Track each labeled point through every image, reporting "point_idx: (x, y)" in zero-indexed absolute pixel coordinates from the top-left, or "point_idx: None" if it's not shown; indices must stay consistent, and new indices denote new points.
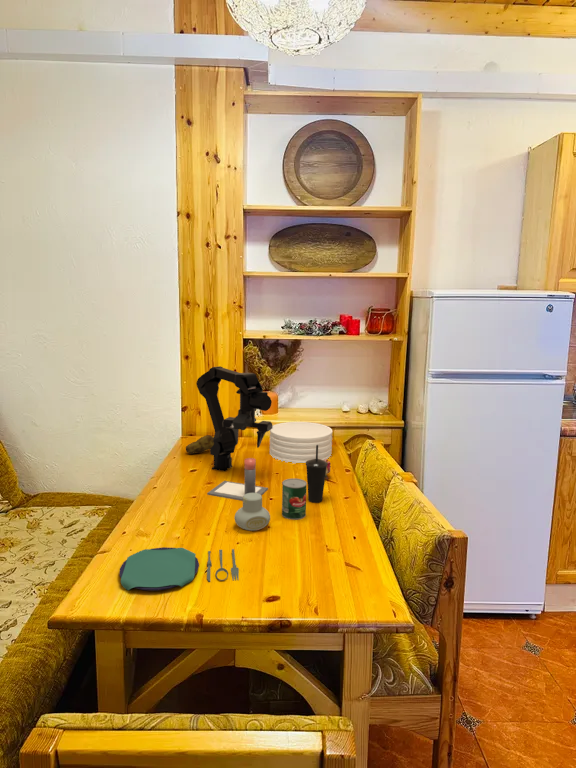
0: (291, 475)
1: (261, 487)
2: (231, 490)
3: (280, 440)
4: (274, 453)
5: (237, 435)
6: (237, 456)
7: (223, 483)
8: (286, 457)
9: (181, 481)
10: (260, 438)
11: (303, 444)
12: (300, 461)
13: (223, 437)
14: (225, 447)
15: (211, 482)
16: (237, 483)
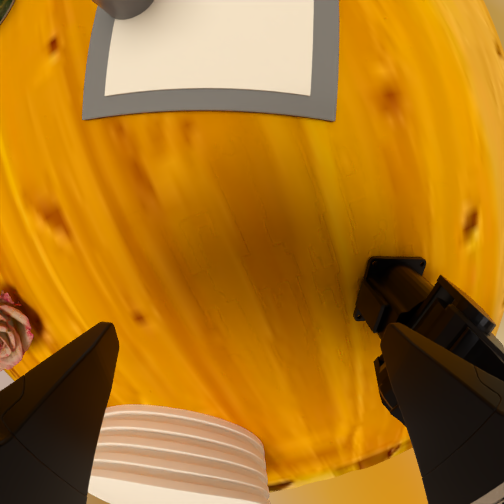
0: (83, 312)
1: (110, 107)
2: (239, 4)
3: (200, 476)
4: (231, 436)
5: (418, 422)
6: (352, 395)
7: (324, 83)
8: (174, 423)
9: (474, 104)
10: (8, 394)
11: (107, 458)
12: (126, 410)
13: (485, 368)
14: (439, 321)
15: (385, 106)
16: (251, 103)
